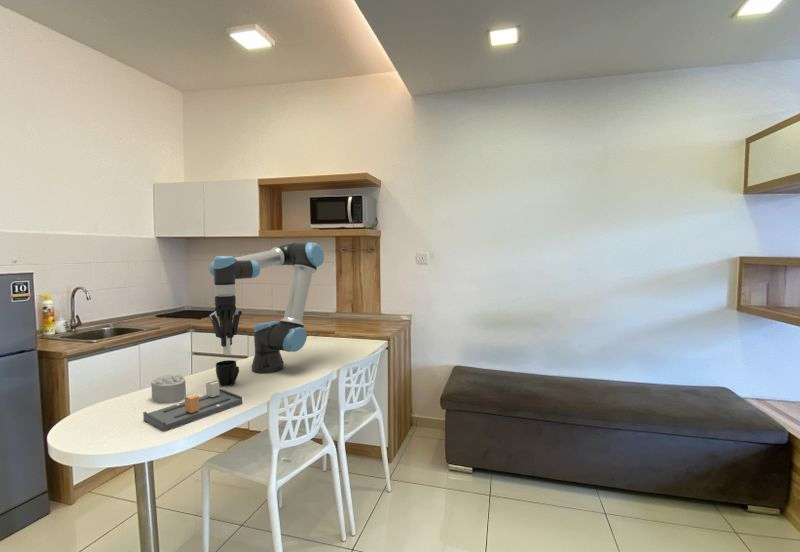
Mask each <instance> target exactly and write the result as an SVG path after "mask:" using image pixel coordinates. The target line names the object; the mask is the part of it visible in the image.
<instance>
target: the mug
mask: <svg viewBox="0 0 800 552" xmlns="http://www.w3.org/2000/svg"><path fill="white" fill-rule="evenodd" d="M239 372H240V367H239V366H237V360H233V359H231V360H229V359H228V360H227V359H226V360H221V361H218V362H216V363H215V373H216V374H215V375H216V377H217V382H219V387H228V386H232V385H234V384H235V382H236V380H237V378H238V376H239Z"/></svg>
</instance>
